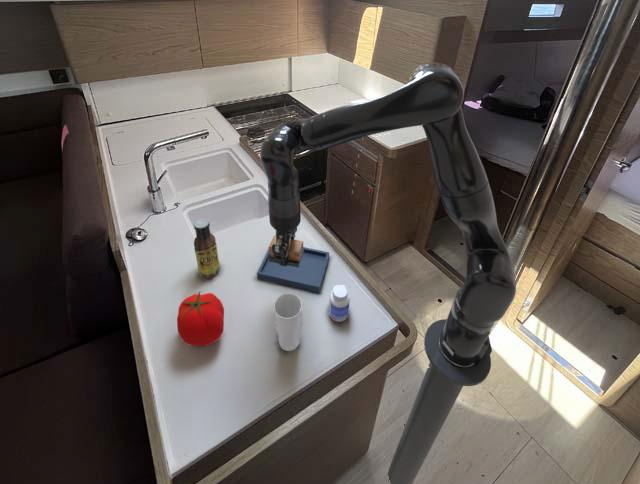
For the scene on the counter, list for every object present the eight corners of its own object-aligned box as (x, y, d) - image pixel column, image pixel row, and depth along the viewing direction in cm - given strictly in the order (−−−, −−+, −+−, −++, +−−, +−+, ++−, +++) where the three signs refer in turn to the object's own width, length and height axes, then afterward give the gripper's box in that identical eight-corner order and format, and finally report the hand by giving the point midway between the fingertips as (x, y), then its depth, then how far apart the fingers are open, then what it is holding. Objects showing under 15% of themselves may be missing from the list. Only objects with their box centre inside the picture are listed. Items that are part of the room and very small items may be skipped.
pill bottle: (351, 318, 88) (354, 296, 83) (333, 325, 87) (335, 302, 82) (343, 301, 93) (345, 279, 88) (325, 307, 91) (327, 285, 86)
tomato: (207, 366, 77) (198, 335, 70) (170, 342, 82) (158, 310, 75) (239, 324, 86) (233, 293, 79) (204, 305, 91) (196, 274, 84)
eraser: (303, 253, 86) (303, 239, 84) (298, 267, 82) (298, 254, 80) (275, 247, 88) (274, 234, 85) (269, 261, 84) (267, 248, 81)
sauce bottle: (202, 282, 97) (190, 234, 87) (197, 268, 101) (185, 220, 91) (223, 273, 100) (214, 226, 90) (217, 260, 104) (208, 213, 94)
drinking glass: (273, 333, 84) (270, 297, 77) (298, 325, 86) (297, 289, 79) (279, 359, 79) (277, 323, 71) (306, 349, 81) (306, 313, 73)
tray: (329, 257, 106) (329, 252, 105) (319, 292, 95) (319, 287, 94) (273, 245, 110) (272, 240, 109) (257, 278, 99) (256, 272, 98)
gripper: (290, 230, 70) (292, 281, 78) (307, 190, 82) (307, 239, 90) (258, 224, 71) (263, 275, 80) (279, 186, 83) (282, 234, 92)
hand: (287, 256), depth 85 cm, fingers closed on eraser, 5 cm apart
